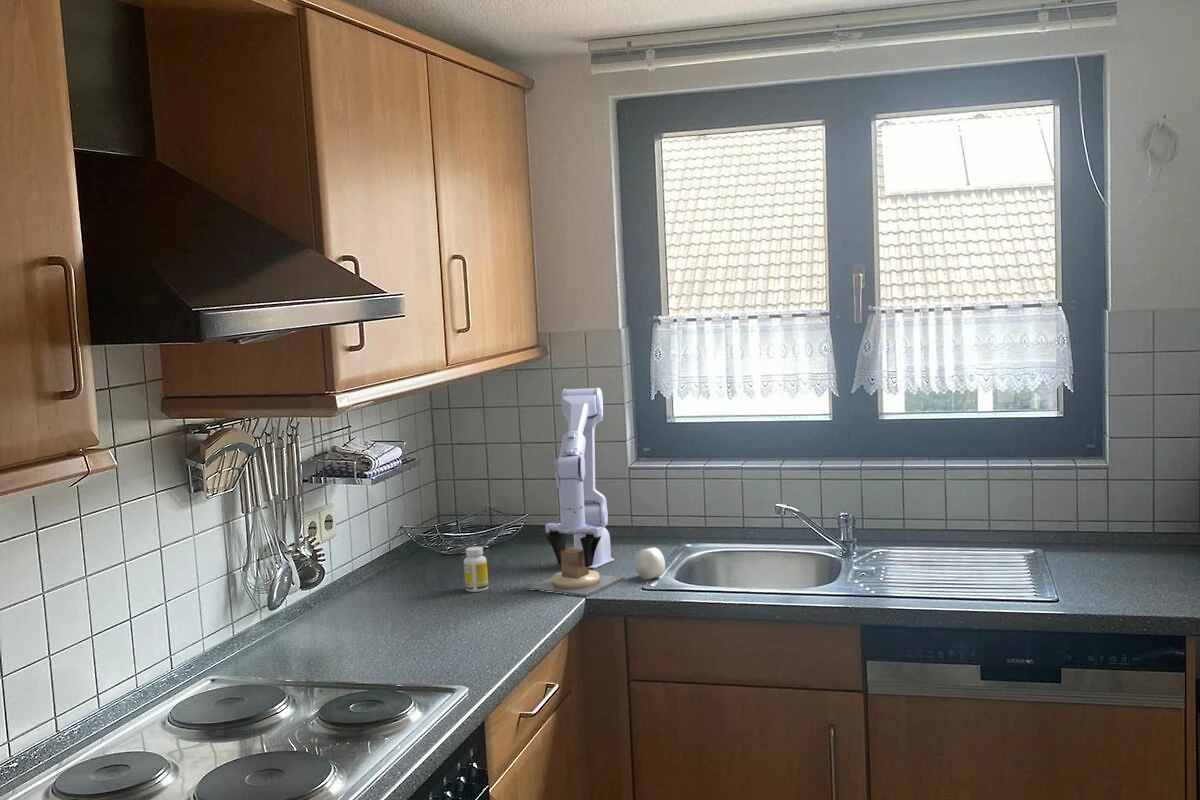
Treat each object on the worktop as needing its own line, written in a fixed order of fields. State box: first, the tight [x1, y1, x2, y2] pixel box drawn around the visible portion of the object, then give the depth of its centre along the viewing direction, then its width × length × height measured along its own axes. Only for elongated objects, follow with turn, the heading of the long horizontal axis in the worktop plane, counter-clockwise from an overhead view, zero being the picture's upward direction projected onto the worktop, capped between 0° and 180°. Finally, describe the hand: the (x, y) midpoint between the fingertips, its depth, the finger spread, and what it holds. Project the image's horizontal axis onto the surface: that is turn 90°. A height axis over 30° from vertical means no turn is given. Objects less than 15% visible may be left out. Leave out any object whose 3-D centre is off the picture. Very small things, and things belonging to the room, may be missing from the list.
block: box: [560, 547, 590, 579], centre depth 274 cm, size 4×4×6 cm
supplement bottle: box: [463, 546, 489, 593], centre depth 275 cm, size 5×5×10 cm
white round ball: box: [634, 546, 666, 581], centre depth 278 cm, size 7×7×4 cm
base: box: [527, 569, 624, 597], centre depth 275 cm, size 16×16×2 cm
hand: (575, 564), depth 274 cm, fingers open, 7 cm apart
